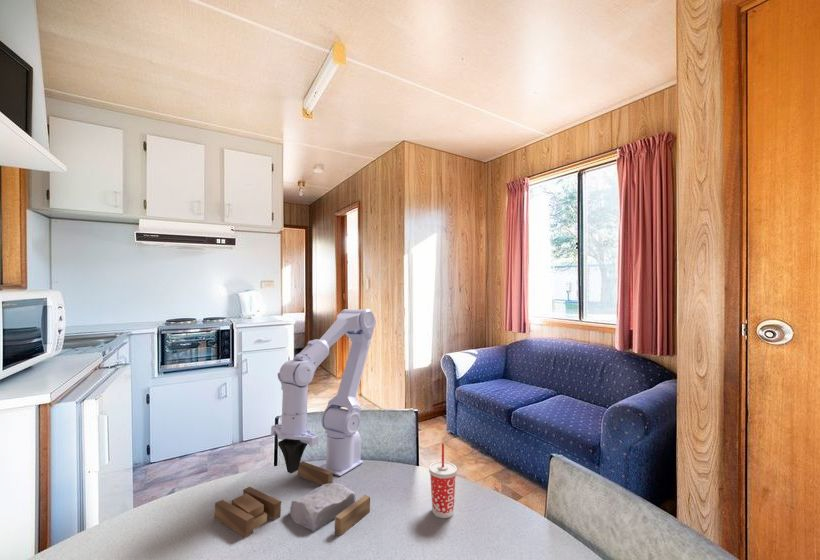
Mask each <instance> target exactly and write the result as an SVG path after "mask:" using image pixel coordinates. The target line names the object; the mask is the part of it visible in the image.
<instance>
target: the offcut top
mask: <svg viewBox="0 0 820 560" xmlns="http://www.w3.org/2000/svg"><path fill="white" fill-rule="evenodd" d="M230 502H231V503H230V504H232V505H234V506H235V507H237V508H239V509H241V510H243V511H245V512H246V513H248V514H250V515H252V516H254V519H255V518H257V517H259V516H261V515H263V514H264V504H262V503H261V502H259V501H257V500H256V499H254V498H253V497H251V496H250V495H248V494H244V495H243V494H242V495H239V496H238V497H235V498H233V499H231V501H230Z"/></svg>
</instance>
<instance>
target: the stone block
mask: <svg viewBox="0 0 820 560" xmlns="http://www.w3.org/2000/svg"><path fill="white" fill-rule="evenodd" d="M356 499H357V498H356V495H355V492H354V491H353V490H351V489H350V488H348V487H346V486H345V485H343V484H341V483H339V482H338V483H334V482H332V483H331V484H329V483H328V484H324V485H320V486H318V487H316V488H314V489H312V490H310V492H308V493H307V494H305V495H303V496H302V497H298V498H296V499H294V500H292V501H291V503H290V508H289V509H290V510H289V512H290V513H289V515H290V518H291V520H292V521H293V522H294V523H296V524H298V525H301V526H303V527H304V528H306V529H309V530H310V531H312V532H315V531H318V530H320V529H321V528H322V527H324V526H326V525H328V524H329V523H331V522H332V521H335V516H337V515H338V514H339V513H341V512H342V511H343V510H345V509H346V508H348V507H349V506H350V505H352V504H353V503H354V502H356Z"/></svg>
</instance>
